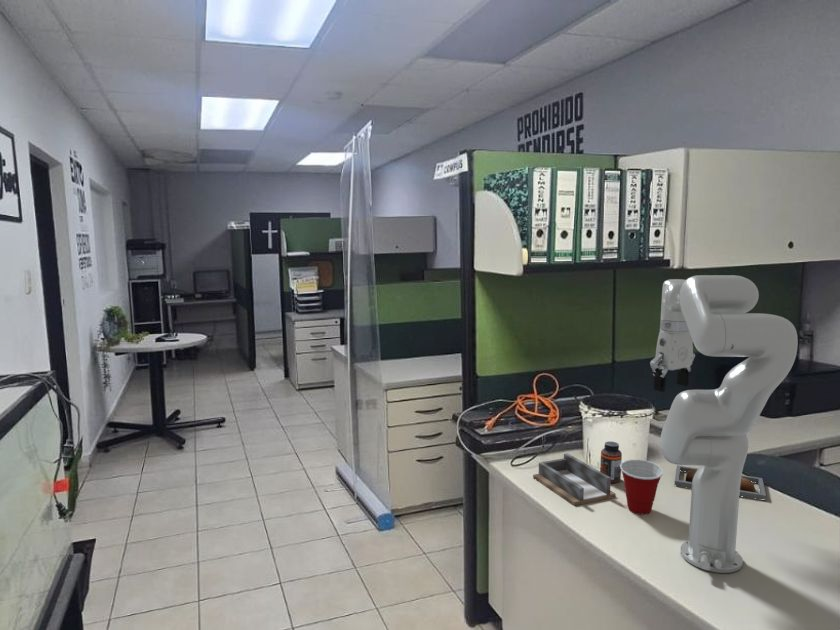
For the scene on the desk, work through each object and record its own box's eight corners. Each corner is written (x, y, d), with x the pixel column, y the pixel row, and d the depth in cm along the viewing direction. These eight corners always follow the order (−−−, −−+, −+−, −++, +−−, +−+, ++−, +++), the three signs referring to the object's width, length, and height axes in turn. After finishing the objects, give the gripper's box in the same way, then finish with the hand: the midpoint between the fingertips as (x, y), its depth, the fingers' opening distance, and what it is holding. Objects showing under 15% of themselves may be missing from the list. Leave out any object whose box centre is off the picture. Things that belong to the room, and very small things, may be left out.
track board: (615, 496, 165) (616, 476, 164) (573, 505, 160) (574, 484, 159) (571, 470, 183) (572, 452, 182) (533, 477, 178) (533, 458, 177)
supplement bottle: (595, 477, 178) (596, 441, 177) (611, 474, 180) (613, 438, 179) (608, 485, 172) (609, 448, 171) (625, 482, 175) (626, 445, 173)
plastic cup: (619, 517, 153) (621, 473, 151) (616, 499, 163) (618, 457, 162) (664, 521, 150) (667, 477, 149) (658, 503, 161) (660, 461, 159)
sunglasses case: (754, 484, 172) (756, 469, 169) (753, 504, 168) (755, 489, 164) (687, 472, 181) (687, 458, 177) (684, 491, 176) (684, 477, 173)
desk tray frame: (765, 500, 162) (765, 495, 162) (674, 485, 172) (674, 480, 172) (761, 483, 173) (762, 478, 173) (676, 469, 183) (676, 465, 183)
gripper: (666, 331, 150) (662, 396, 153) (708, 324, 158) (703, 386, 161) (641, 327, 156) (638, 389, 159) (683, 320, 165) (679, 379, 168)
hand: (671, 387), depth 160 cm, fingers open, 9 cm apart
